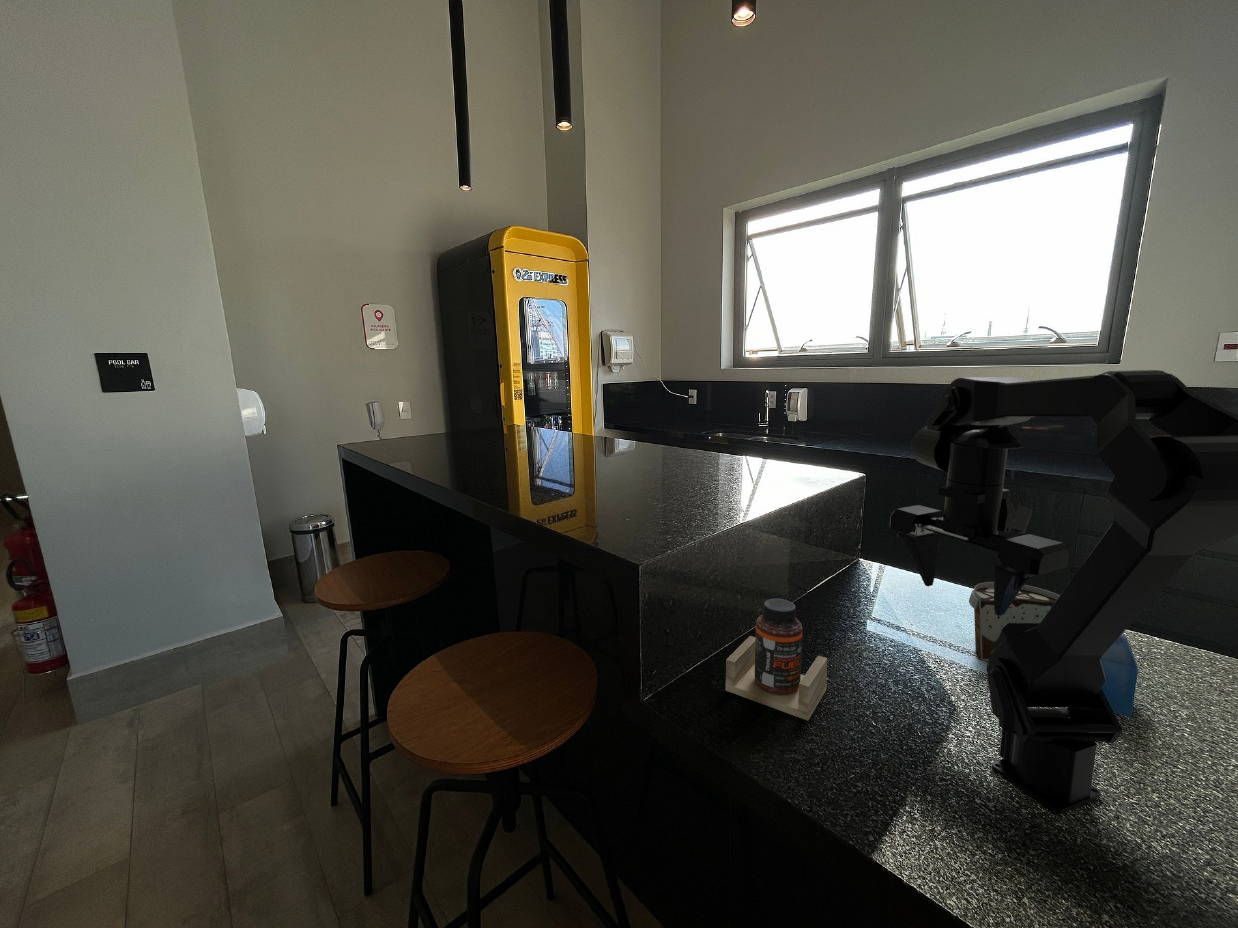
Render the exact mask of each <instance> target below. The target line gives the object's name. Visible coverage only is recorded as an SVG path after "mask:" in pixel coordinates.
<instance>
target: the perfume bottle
mask: <svg viewBox="0 0 1238 928" xmlns="http://www.w3.org/2000/svg"><path fill="white" fill-rule="evenodd" d="M1101 662H1102V665H1103V669H1104V672H1105V676H1106V680H1105V682H1104V684H1103V686H1102V688H1101V689H1102V691H1103V693H1104V694H1105V696H1106V698H1107V700H1108V702H1109V704H1110V706H1111V708H1112V710H1113V712H1114V713H1117V714H1120V713H1121V715H1124V716H1128V717H1132V716H1133V709H1134V701H1135V696H1136V695H1135V694H1136V688H1137V679H1138V673H1139V668H1138V665H1137V661H1136V658H1135V656H1134V653H1133V649H1132V647H1131V645H1130V643H1129V641H1128V638H1127V637H1126V634H1125V631H1124V632H1123V633H1122V634H1121V635H1120V636H1119V638H1118V639H1117V640H1116V641H1115V642H1114V643H1113V644H1112V645H1111V646H1110V648H1109V649H1108V650H1107V651H1106V652H1105V653H1104V654H1103V655H1102V657H1101Z"/></svg>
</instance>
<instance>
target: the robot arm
mask: <svg viewBox="0 0 1238 928" xmlns="http://www.w3.org/2000/svg"><path fill="white" fill-rule="evenodd" d="M949 385H950V387H948V388H947V389H946V390H945V392H944V393H943V394H942V397H941V398H940V400H939V402H938V404H937V406H936V407H935V409H934V410H933V411H932V413H931V414H930V416H929V417H928V418H927V421H926V426H924V427H923V428H921V429H919V430H918V431H917V432H916V433H915V434H914V436H913V438H912V440H911V441H910V447H909V448H910V452H911V455H912V456H913V458H914V460H916V461H917V462H918V463H920V464H922V465H926V466H928V467H932V468H934V469H937V470H940V471H943V472H945V473H946V472H947V476H946V477H947V478H946V485H945V486H944V485H943V486H939V487H938V495H939V496H942V497H944V499H945V500H944V507H943V508H944V509H943V512H942V510H939V509H935V508H932V507H928V506H923V505H920V504H918V505H910V506H906V507H905V506H904V507H898V508H895V509H894V511H893V512H892V513H891V514H890V517H889V529H891V530H893V531H896V536H897V537H898V538H900V539H901V540H902V542H903V543H904V545H905V547H906V549H907V550H908V552H909V554H910V556H911V558H912V560H913V562H914V565H915V566H916V569H917V571H918V574H919V575H920V577H921V580H922V582H923V584H924V586H926V587H931V586H933V585H934V582H935V576H936V567H937V558H938V547H939V545H940V543H941V541H942V539H943V538H944V537H945V536H946V537H949V538H952V539H956V540H958V541H961V542H965V543H969V544H971V545H975V546H978V547H982V548H985V549H988V550H991V551H995V552H997V558H998V559H999V561H1000V562H1001V564H997V565H994V571H993V576H994V577H993V582H994V609H995V614H996V615H997V616H1001V615H1004V614H1005V612H1006V611H1007V609H1008V608H1009V606H1010V605H1011V603H1012V602H1013V600H1014V599H1015V597H1016V596H1017V594H1018V593H1019V591H1020V590H1021V588H1022V587H1023V586H1024V585H1026V583H1027V582H1028V581H1029V580H1030V579H1031V578H1032V577H1034V576H1040V575H1045V574H1047V573H1052V572H1054V571H1059V570H1063V569H1065V568H1068V565H1069V558H1070V553H1069V551H1068V549H1067V547H1066V545H1065V544H1064V542H1061V541H1058V540H1054V539H1050V538H1045V537H1042V536H1038V535H1035V534H1031V533H1028V534H1025V533H1026V531H1027V528H1028V527H1029V526H1028V525H1029V522H1030V519H1031V518H1032V513H1033V511H1034V510H1033V509H1031V508H1027V507H1026V506H1023V505H1019V504H1018V503H1013V502H1011V496H1012V494H1011V490H1010V489H1008V488H1007V489H1006V488H1004V486H1005V485H1004V484H1005V483H1004V482H1005V475H1006V466H1007V459H1008V450H1018V449H1021V447H1022V443H1021V442H1020V440H1019V438H1017V437H1016V436H1014V435H1013V434H1012V433H1011V431H1010V429H1009V427H1006V426H1010V425H1014V424H1015V425H1016V424H1018V423H1019V424H1020V423H1022V422H1023V423H1024V422H1028V421H1029V420H1030V419H1032V418H1035V417H1090V418H1091V419H1092V421H1094V423H1095V424H1096V425H1097V427H1096V428H1097V433H1096V453H1097V455H1098V456H1099V457H1100V459H1101V460H1102V462H1103V463H1104V464H1105V465H1106V466H1107V468H1108V470H1109V471H1110V472H1111V473H1112V475H1113V476H1114V477H1113V479H1112V481H1111V484H1110V485H1109V487H1108V490H1107V496H1108V499H1109V504H1110V508H1111V512H1112V517H1113V521H1112V523H1111V525H1110V526H1109V527H1108V529H1107V530H1106V531H1105V533H1104V535H1103V536H1102V537H1101V538H1100V539H1099V541H1098V543H1097V544H1096V545H1095V547H1094V548H1093V550H1092V551H1091V552H1090V554H1089V555H1088V557H1086V559H1085V561H1084V562H1083V563H1082V564H1081V566H1080V568H1079V569H1078V570H1077V572H1076V573H1075V574H1074V576H1073V577H1072V578H1071V580H1070V581H1069V582H1068V583H1067V585H1066V587H1065V588H1064V590H1063V591H1062V592H1061V593H1060V594H1059V595H1060V596H1059V598H1058V599H1057V600H1056V602H1055V603H1054V605H1053V606H1052V607H1051V609H1050V610H1049V611H1048V613H1047V614H1046V616H1045V617H1044V618H1043V620H1042V621H1041V622H1040V623H1008V624H1007V625H1006V626H1005V627H1003V628H1002V631H1001V633H1000V636H999V638H998V639H997V640H996V641H995V642H994V643H992V644H990V647H991V648H993V649H994V650H993V651H992V653H991V654H990V657H989V660H988V661H987V665H986V676H987V684H988V692H989V698H990V699H989V700H990V704H991V711H992V714H993V715H994V716H995V717H996V718H997V719H998V727H1000V728H1001V735H1000V742H999V743H1000V746H999V757H1001V759H999V760H996V761H994V762H992V763H991V769H992V770H993V771H994V772H996V774H997V773H998V774H999V775H1000V776H1002V777H1003V778H1005V780H1007V781H1009V782H1010V783H1012V784H1013V785H1014V786H1016V787H1018V788H1019V789H1020V790H1021V791H1023V792H1024V793H1026V794H1027V795H1029V796H1030V797H1031V798H1033V799H1034V800H1036V801H1037V802H1039V803H1040V804H1041V805H1043V807H1046V808H1047V809H1049V810H1050V811H1051V812H1054V813H1056V814H1063V813H1066V812H1068V811H1071V810H1073V809H1075V808H1079V807H1080V806H1084V805H1086V804H1089V803H1091V802H1094V801H1096V800H1099V799H1100V798H1101V796H1102V792H1101V791H1100V790H1099V789H1098V788H1096V787H1095V786H1094V785H1093V784H1092V783H1093V776H1094V769H1095V761H1096V753H1097V747H1098V744H1097V743H1107V744H1115V743H1116V741H1117V740H1118V739H1119V738H1120V736H1121V734H1122V733H1123V727H1122V726H1121V724H1120V722H1119V720H1118V718H1117V716H1116V714H1115V712H1113V710H1112V708H1111V706H1110V704H1109V702H1108V700H1107V698H1106V696H1105V694H1104V693H1103V691H1102V689H1101V688H1102V686H1103V684H1104V682H1105V680H1106V676H1105V672H1104V669H1103V665H1102V662H1101V657H1102V655H1103V654H1104V653H1105V652H1106V651H1107V650H1108V649H1109V648H1110V646H1111V645H1112V644H1113V643H1114V642H1115V641H1116V640H1117V639H1118V638H1119V636H1120V635H1121V634H1122V633H1123V632H1124V633H1125V631H1126V630H1127V628H1129V626H1131V624H1132V623H1133V622H1134V621H1135V620H1136V619H1137V618H1138V616H1140V614H1141V613H1142V612H1143V611H1144V610H1145V609H1146V608H1147V606H1148V605H1149V604H1150V603H1151V602H1152V601H1153V600H1154V599H1155V597H1157V595H1159V594H1160V592H1162V590H1163V589H1164V587H1166V586H1167V584H1169V582H1171V580H1172V579H1173V578H1174V577H1175V575H1176V574H1178V572H1179V571H1180V570H1181V569H1182V568H1183V566H1185V564H1187V562H1188V561H1189V560H1190V559H1191V558H1192V557H1193V555H1195V554H1196V553H1198V552H1200V551H1201V550H1204V549H1206V548H1208V547H1211V546H1214V545H1217V544H1219V543H1220V542H1223V541H1226V540H1227V539H1230V538H1233V537H1235V536H1238V414H1236V413H1234V412H1231V411H1229V410H1228V409H1226V408H1224V407H1222V406H1220V405H1218V404H1215V403H1214V402H1212V401H1210V400H1208V399H1206V398H1205V397H1202V396H1200V395H1198V394H1196V393H1194V392H1193V391H1192V390H1191V389H1190V388H1189V387H1188V386H1186V385H1185V383H1184V382H1183V381H1182V380H1181V379H1179V378H1178V377H1177V376H1176V375H1174V374H1172V373H1167V372H1166V371H1164V370H1159V369H1158V370H1157V369H1146V370H1145V369H1139V370H1138V369H1137V370H1135V369H1133V370H1108V371H1105V372H1103V373H1099V374H1097V375H1095V374H1094V375H1086V376H1085V375H1084V376H1074V377H1063V378H1061V377H1060V378H1051V379H1041V380H1032V379H1030V378H1024V377H1017V376H983V377H982V376H981V377H980V376H979V377H976V376H975V377H974V376H973V377H970V376H968V377H956V378H955V379H954V380H953V381H951V382H950V384H949ZM1145 419H1146V420H1148V422H1150V423H1151V424H1152V425H1153V426H1154V427H1156V428H1158V429H1159V430H1161V431H1163V432H1164V433H1166V434H1168V435H1164V436H1163V435H1161V436H1155V437H1149V436H1148V435H1147V433H1146V432H1145V431H1144V430H1143V429H1142V428H1141V427H1140V425H1139V424H1138V423H1137V420H1145ZM1012 530H1013V531H1014V532H1015V533H1020V534H1024V535H1020V536H1014V537H1007V536H1005V535H1004V536H1003V535H999V533H1000V532H1001V533H1003V534H1004V533H1010V532H1012Z"/></svg>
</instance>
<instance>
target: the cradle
mask: <svg viewBox="0 0 1238 928" xmlns="http://www.w3.org/2000/svg"><path fill="white" fill-rule="evenodd" d="M755 638H756V636H752V635H749V636H748V637H747V638H746V639H745V640H744V641H743V642H742V643H741V644H740V645H739V646H738V647H737V648H736V649H735V650H734V652H732V653H731V654H730V655H729V656H728V657H727V658H726V659H725V660H726V661H725V691H726V692H728V693H732V694H735V695H737V696H740V697H742V698H745V699H747V700H751V701H753V702H756V703H759V704H761V705H764V706H767V707H769V708H772V709H775V710H778V711H781V712H783V713H786V714H788V715H792V716H794V717H797V718H799V719H802V720H805V721H809V720H810V719H811V716H812V715H813V713H814V712H815V709H816V708H817V707H818V704H819V702H820V701H821V699H822V698H823V696H824V694H825V693H826V690H827V686H828V685H827V684H828V683H827V676H828V675H827V674H828V673H827V672H828V658H827V657H825V656H821V655H817V656H816V658H815V660H814V661H813V662H812V664H811V665H810V667H809V668H808V670H807V671H806V673H805V674H802V673H801V677H800V678H801V680H800V683H799V688H798V689H797V690H796V691H795V692H793V693H789V694H775V693H771V692H768V691H766V690H765V689H763V688H761V687H760V686H759V685H758V684H757V683H756V681H755Z"/></svg>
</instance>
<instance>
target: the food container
mask: <svg viewBox="0 0 1238 928" xmlns="http://www.w3.org/2000/svg"><path fill="white" fill-rule="evenodd" d="M1060 595H1061V594H1057V593H1055V592H1052V591H1050V590H1048V589H1044V588H1041V587H1036V586H1032V585H1029V584H1028V585H1027V584H1024V586H1023V587H1022V588H1021V590H1020V591H1019V593H1018V594H1017V596H1016V597H1015V599H1014V600H1013V602H1012V603H1011V605H1010V606H1009V608H1008V609H1007V611H1006V612H1005V614H1004V615H1001V616H997V615H996V614H995V609H994V581H987V582H981V583H977V584H976V585H975V586H974V588H973V589H972V590H971V593H970V595H969V598H968V603H969V605H970V606H971V607H972V608H973V611H974V612H973V615H974V616H973V617H974V644H975V647H974V648H975V650H974V651H975V654H976V657H977V658H978V660H980V661H984V662H985V661H987V662H988V660H989V657H990V654H991V653H992V651H993V650H994V649H993V648H991V647H990V644H992V643H994V642H995V641H996V640H997V639H998V638H999V636H1000V633H1001V631H1002V628H1003V627H1005V626H1006V625H1007V624H1008V623H1040V622H1041V621H1042V620H1043V618H1044V617H1045V616H1046V614H1047V613H1048V611H1049V610H1050V609H1051V607H1052V606H1053V605H1054V603H1055V602H1056V600H1057V599H1058V598H1059V596H1060Z"/></svg>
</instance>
